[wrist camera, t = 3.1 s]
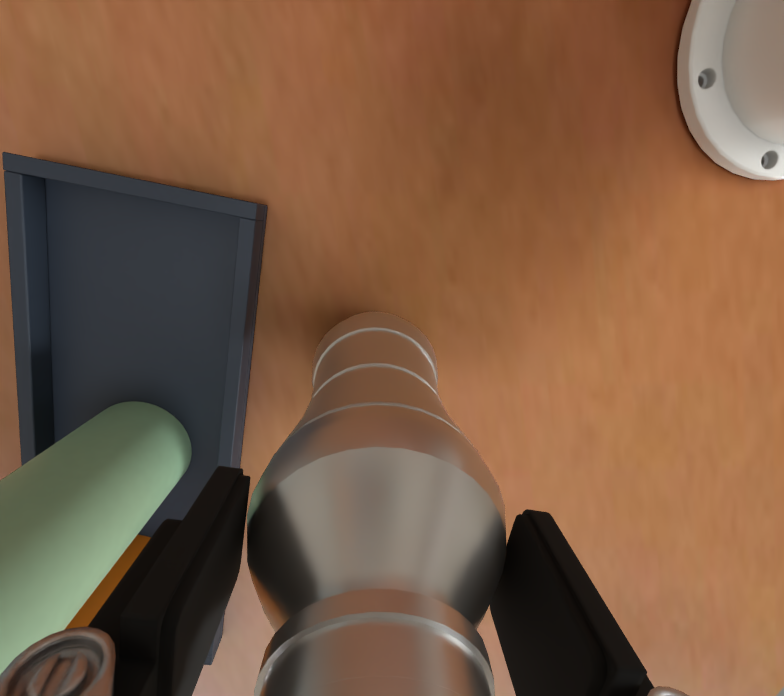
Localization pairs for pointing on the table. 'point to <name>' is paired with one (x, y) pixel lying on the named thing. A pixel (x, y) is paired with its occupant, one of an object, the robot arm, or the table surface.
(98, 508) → the sage bottle
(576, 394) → the table surface
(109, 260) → the tray
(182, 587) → the robot arm
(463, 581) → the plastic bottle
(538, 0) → the table surface
